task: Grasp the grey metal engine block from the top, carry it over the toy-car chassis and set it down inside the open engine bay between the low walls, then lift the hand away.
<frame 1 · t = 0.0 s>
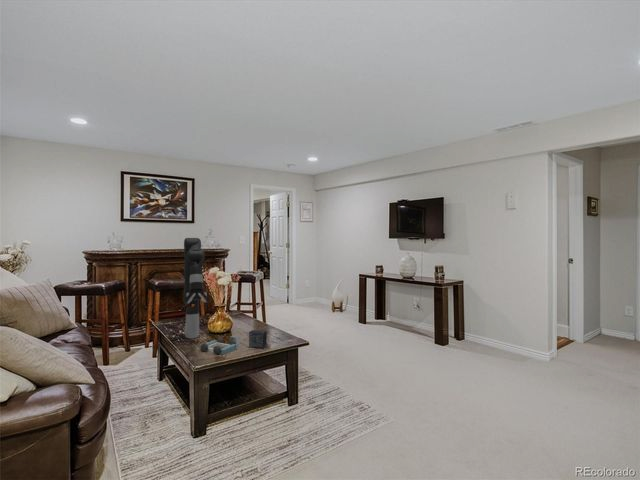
hand: (196, 309, 206), 31 cm above the table, tool tilted 20°, fingers open, 8 cm apart
small box: (257, 347, 237), on the table
engine block: (235, 343, 244), on the table
chassis: (218, 349, 231), on the table
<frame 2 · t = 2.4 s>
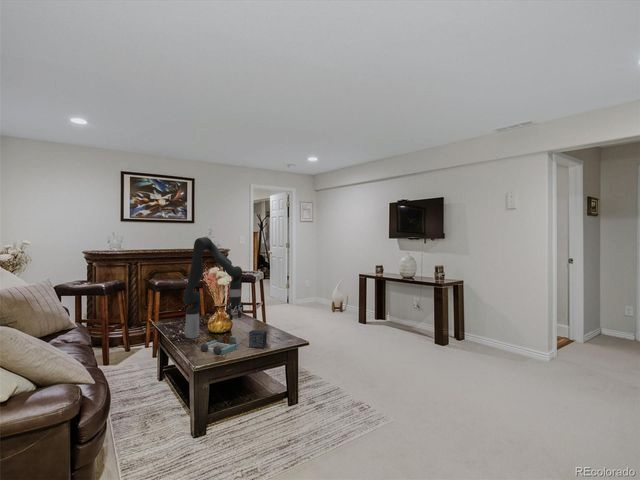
hand: (235, 318, 244), 17 cm above the table, tool pointing down, fingers open, 8 cm apart
nothing on the table moved.
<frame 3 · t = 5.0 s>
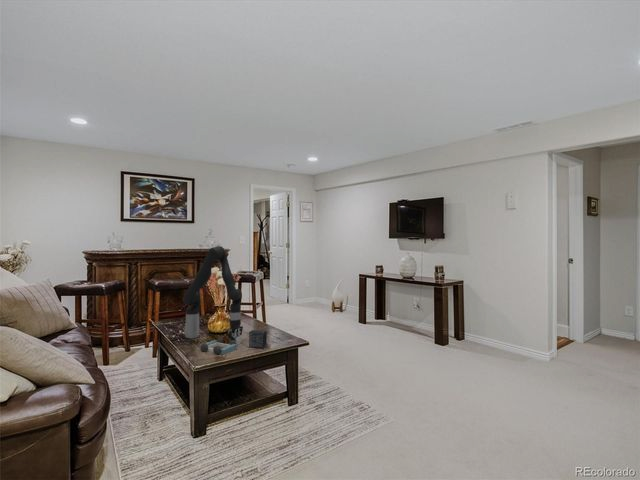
hand: (235, 342, 244), 0 cm above the table, tool pointing down, fingers closed on engine block, 4 cm apart
engine block: (235, 343, 244), on the table, touching gripper
everything else where it was.
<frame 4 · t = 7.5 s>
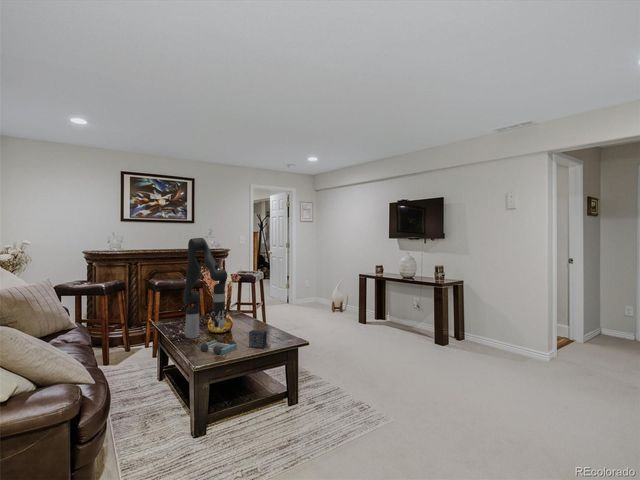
hand: (219, 326, 231), 15 cm above the table, tool pointing down, fingers closed on engine block, 4 cm apart
engine block: (219, 326, 231), point 15 cm above the table, touching gripper
everything else where it was.
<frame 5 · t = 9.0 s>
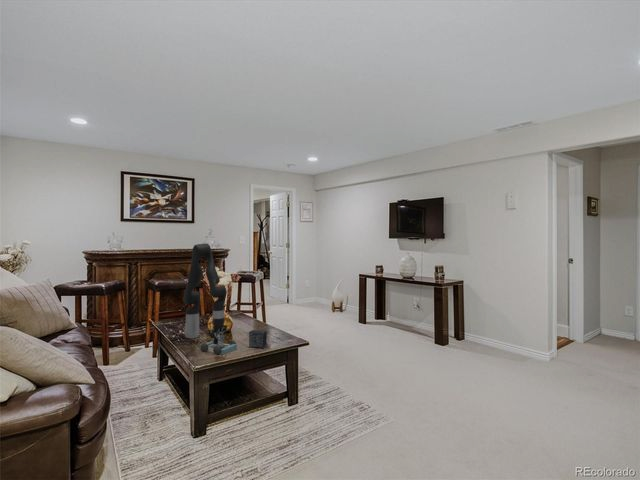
hand: (218, 342, 231), 4 cm above the table, tool pointing down, fingers closed on engine block, 4 cm apart
engine block: (218, 343, 231), point 4 cm above the table, touching gripper
everything else where it was.
when the fingers open (2 cm above the table, at t = 10.2 s): engine block drops 2 cm, resting in chassis.
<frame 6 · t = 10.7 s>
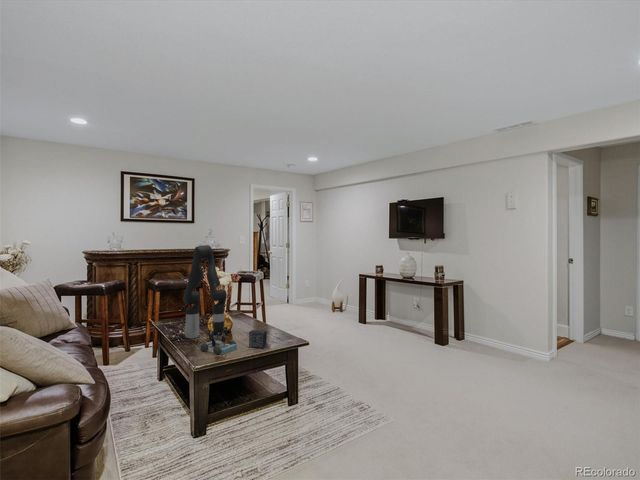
hand: (218, 344, 231), 3 cm above the table, tool pointing down, fingers open, 8 cm apart
engine block: (218, 349, 231), resting in chassis
everything else where it was.
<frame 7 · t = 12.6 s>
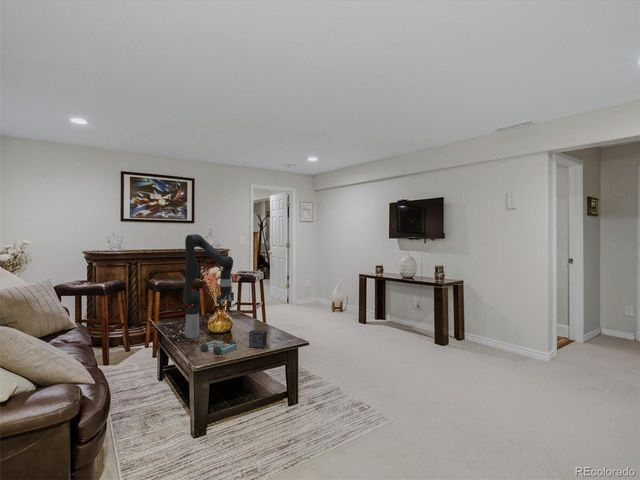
hand: (225, 308, 245), 24 cm above the table, tool pointing down, fingers open, 8 cm apart
nothing on the table moved.
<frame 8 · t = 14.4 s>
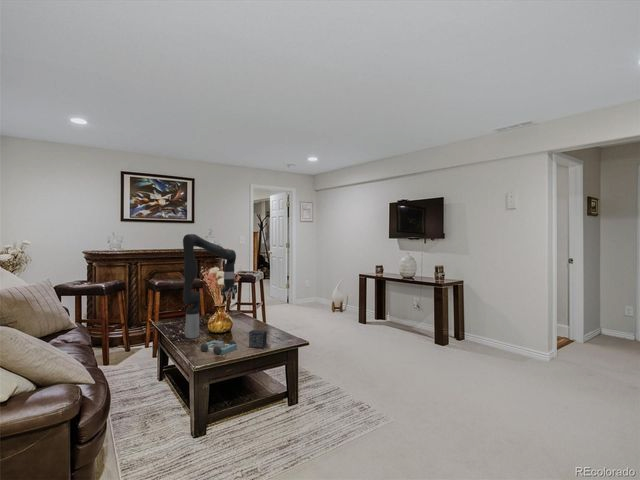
hand: (229, 300, 252), 28 cm above the table, tool pointing down, fingers open, 8 cm apart
nothing on the table moved.
at the end: engine block inside the target area on the chassis (0.1 cm from its centre), point 0.0 cm above the chassis's base; engine block tilted 0°; the gripper is holding nothing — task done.
